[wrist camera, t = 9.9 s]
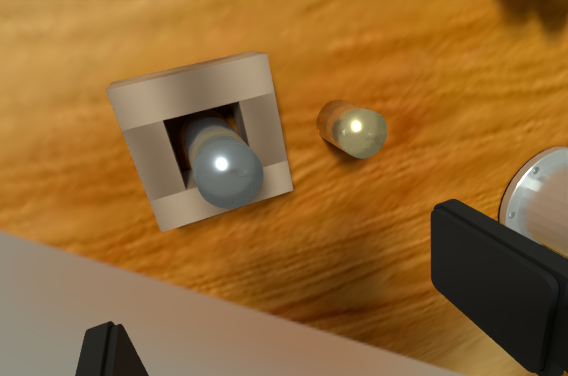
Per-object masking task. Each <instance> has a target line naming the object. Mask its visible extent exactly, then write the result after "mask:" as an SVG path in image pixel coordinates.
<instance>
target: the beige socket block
mask: <svg viewBox="0 0 568 376" xmlns="http://www.w3.org/2000/svg"><path fill="white" fill-rule="evenodd" d="M106 92H107V95H108V97H109V100H110V102H111V105H112V107H113V110H114V112H115V115H116V118H117V120H118V123H119V125H120V128H121V130H122V133H123V135H124V138H125V140H126V143H127V146H128V148H129V151H130V153H131V156H132V158H133V161H134V163H135V166H136V169H137V171H138V174H139V176H140V179H141V181H142V184H143V186H144V189H145V191H146V194H147V197H148V199H149V202H150V204H151V207H152V209H153V212H154V214H155V217H156V220H157V222H158V225H159V227H160V230H161V232H164V231H168V230H171V229H174V228H177V227H180V226H183V225H186V224H189V223H193V222H196V221H199V220H202V219H205V218H208V217H211V216H214V215H218V214H221V213H224V212H227V211H230V210H233V209H236V208H239V207H243V206H246V205H249V204H252V203H255V202H258V201H261V200H264V199H268V198H271V197H274V196H277V195H280V194H283V193H286V192H289V191H293V186H292V181H291V176H290V171H289V165H288V160H287V155H286V150H285V144H284V139H283V134H282V129H281V124H280V118H279V113H278V108H277V103H276V97H275V92H274V87H273V82H272V76H271V71H270V66H269V61H268V55H267V53H262V52H255V51H250V52H245V53H241V54H237V55H232V56H228V57H223V58H219V59H214V60H210V61H205V62H201V63H197V64H192V65H188V66H183V67H179V68H174V69H170V70H166V71H161V72H157V73H152V74H148V75H143V76H139V77H134V78H130V79H126V80H121V81H117V82H112V83H111V85H110V86H109V87H108V88H107V89H106ZM226 104H231V108H232V112H233V116H234V120H235V124H236V128H237V132H238V135H239V136H240V137H241V138H242V139H243V141H244V142H245V143H246V144H247V145H248V146H249V147H250V149H251V150H252V151H253V152H254V153H255V154H256V155H257V157H258V158H259V160H260V161H261V164H262V167H263V173H264V176H263V182H262V185H261V188H260V190H259V192H258V193H257V194H256V196H255V197H254V198H253V199H252V200H250V201H249V202H248V203H246V204H244V205H242V206H239V207H236V208H220V207H216V206H214V205H212V204H210V203H209V202H207V201H206V200H205V199H204V198H203V197H202V196H201V194H200V192H199V190H198V188H197V184H196V181H195V178H194V174H193V171H192V169H189V170H186V171H182V170H181V167H180V164H179V161H178V158H177V155H176V152H175V149H174V146H173V143H172V140H171V137H170V134H169V131H168V128H167V125H166V122H165V120H167V119H171V118H175V117H179V116H182V115H186V114H190V113H194V112H198V111H202V110H206V109H210V108H214V107H218V106H222V105H226Z"/></svg>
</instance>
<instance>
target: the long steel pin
mask: <svg viewBox="0 0 568 376" xmlns="http://www.w3.org/2000/svg"><path fill="white" fill-rule="evenodd" d="M182 138H183V142H184V145H185V148H186V151H187V155H188V158H189V161H190V165H191V168H192V171H193V174H194V178H195V181H196V184H197V188H198V190H199V192H200V194H201V196H202V197H203V198H204V199H205V200H206V201H207V202H209V203H210V204H212V205H214V206H216V207H220V208H236V207H239V206H242V205H244V204H246V203H248V202H249V201H250V200H252V199H253V198H254V197H255V196H256V194H257V193H258V192H259V190H260V188H261V185H262V182H263V176H264V173H263V167H262V164H261V161H260V160H259V158H258V157H257V155H256V154H255V153H254V152H253V151H252V150H251V149H250V147H249V146H248V145H247V144H246V143H245V142H244V141H243V139H242V138H241V137H240V136H239V135H238V134H237V133H236V131H235V130H234V129H233V128H232V127H231V126H230V125H229V123H228V122H227V121H226V120H225V119H224V118H223V117H222V116H221V115H220V114H219V113H217V112H215V111H212V110H202V111H198V112H194V113H192V114H191V115H190V116H188V118H187V119H186V120H185V122H184V124H183V127H182Z"/></svg>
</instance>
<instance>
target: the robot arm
mask: <svg viewBox="0 0 568 376" xmlns="http://www.w3.org/2000/svg"><path fill="white" fill-rule="evenodd" d="M499 216H500V223H499V222H497V221H496V220H494V219H492V218H490V217H488V216H486V215H484V214H483V213H481V212H479V211H477V210H475V209H473V208H471V207H470V206H468V205H466V204H464V203H462V202H460V201H458V200H456V199H450V200H447V201H445V202H442V203H439V204H437V205H435V207H434V210H433V211H432V212H431V280H432V283H433V285H434V286H435V288H436V289H437V290H438V291H439V292H440V293H441V294H442V295H444V296H445V297H446V298H447V299H448V300H449V301H450V302H451V303H453V304H454V305H455V306H456V307H457V308H458V309H459V310H460V311H461V312H463V313H464V314H465V315H466V316H467V317H468V318H469V319H470V320H471V321H473V322H474V323H475V324H476V325H477V326H478V327H479V328H480V329H482V330H483V331H484V332H485V333H486V334H487V335H488V336H489V337H490V338H492V339H493V340H494V341H495V342H496V343H497V344H498V345H499V346H501V347H502V348H503V349H504V350H505V351H506V352H507V353H508V354H509V355H511V356H512V357H513V358H514V359H515V360H516V361H517V362H518V363H520V364H521V365H522V366H523V367H524V368H525V369H526V370H528V371H529V372H532V373H536V374H538V375H539V376H561V375H563V373H564V370H565V371H566V372H567V373H568V259H566V258H564V257H562V256H560V255H559V254H557V253H555V252H553V251H551V250H549V249H547V248H546V247H544V246H542V245H541V244H544V245H545V246H547V247H549V248H551V249H553V250H555V251H557V252H559V253H560V254H562V255H564V256H566V257H568V147H563V146H559V147H553V148H550V149H547V150H545V151H543V152H541V153H539V154H538V155H536V156H535V157H533V158H532V159H531V160H529V161H528V162H527V163H526V164H525V165H524V166H523V167H522V168H521V169H520V170H519V172H518V173H517V174H516V176H515V177H514V178H513V180H512V181H511V183H510V185H509V186H508V188H507V190H506V193H505V195H504V197H503V200H502V204H501V208H500V215H499ZM75 376H149V375H148V373H147V371H146V369H145V367H144V366H143V364H142V362H141V360H140V358H139V356H138V354H137V352H136V350H135V348H134V346H133V344H132V342H131V341H130V338H129V337H128V334H127V333H126V331H125V329H124V327H123V326H122V324H118V325H114V323H113V322H111V321H109V322H107V323H104V324H101V325H99V326H96V327H93V328H90V329H88V330H87V331H86V333H85V336H84V340H83V345H82V349H81V353H80V357H79V362H78V367H77V370H76V375H75Z"/></svg>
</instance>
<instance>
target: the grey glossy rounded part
mask: <svg viewBox="0 0 568 376" xmlns="http://www.w3.org/2000/svg"><path fill="white" fill-rule="evenodd" d="M317 130H318V132H319V134H320V135H321V137H322V138H324V139H325V140H327V141H328V142H330V143H332V144H333V145H335V146H337V147H338V148H340V149H342V150H343V151H345V152H347V153H348V154H350V155H352V156H353V157H356V158H360V159H364V158H368V157H371V156H373V155H374V154H376V153H377V152H378V151H379V150H380V149H381V147H382V146H383V144H384V142H385V140H386V136H387V125H386V122H385V120H384V118H383V117H382V116H381V115H380V114H379V113H377V112H375V111H372V110H369V109H366V108H363V107H360V106H357V105H354V104H351V103H348V102H345V101H342V100H334V101H331V102H329V103H327V104H326V105H325V106H324V107H323V108H322V109H321V111H320V112H319V115H318V118H317Z"/></svg>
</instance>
